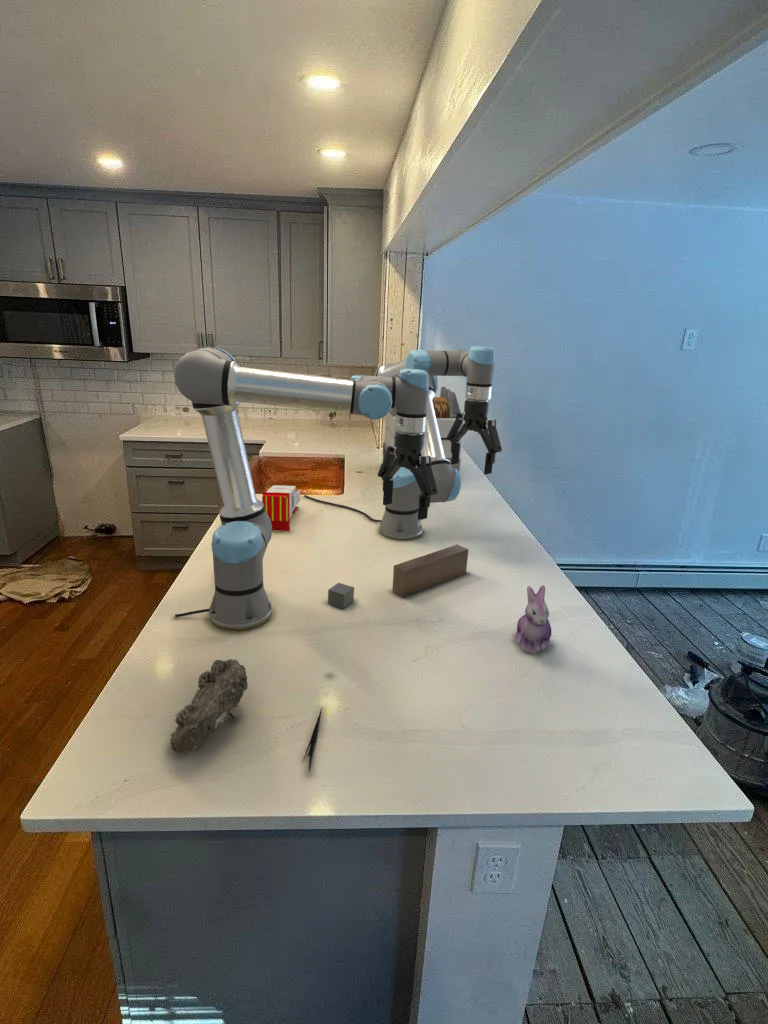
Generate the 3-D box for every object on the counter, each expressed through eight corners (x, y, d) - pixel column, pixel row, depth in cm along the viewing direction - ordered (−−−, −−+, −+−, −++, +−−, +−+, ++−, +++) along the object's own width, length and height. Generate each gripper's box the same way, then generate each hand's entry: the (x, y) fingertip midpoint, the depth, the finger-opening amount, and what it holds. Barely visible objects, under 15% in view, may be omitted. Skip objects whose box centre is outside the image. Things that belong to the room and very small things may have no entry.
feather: (331, 679, 122) (336, 673, 122) (307, 777, 96) (313, 769, 95) (324, 675, 122) (329, 669, 121) (298, 772, 95) (304, 764, 95)
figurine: (532, 659, 131) (541, 601, 125) (504, 636, 139) (511, 581, 134) (562, 649, 135) (572, 593, 130) (533, 628, 143) (541, 575, 138)
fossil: (195, 660, 117) (247, 628, 112) (227, 691, 120) (279, 661, 115) (146, 746, 98) (206, 711, 93) (185, 779, 101) (245, 748, 96)
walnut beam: (392, 591, 159) (393, 565, 156) (455, 568, 175) (457, 544, 173) (403, 597, 156) (404, 571, 153) (466, 573, 172) (468, 549, 169)
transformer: (381, 463, 289) (385, 382, 275) (444, 464, 292) (450, 384, 279) (389, 482, 257) (393, 392, 243) (459, 483, 261) (467, 394, 247)
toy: (302, 480, 222) (292, 494, 192) (302, 514, 224) (292, 532, 195) (271, 480, 221) (256, 493, 192) (271, 513, 224) (256, 531, 195)
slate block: (327, 603, 151) (328, 589, 150) (338, 595, 156) (338, 582, 154) (343, 608, 149) (343, 594, 148) (353, 600, 153) (354, 587, 152)
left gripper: (367, 424, 150) (363, 500, 157) (435, 444, 132) (427, 528, 139) (388, 422, 154) (384, 496, 162) (456, 440, 137) (448, 522, 144)
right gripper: (438, 395, 176) (433, 461, 184) (502, 407, 159) (494, 480, 166) (455, 393, 181) (449, 458, 188) (519, 405, 163) (510, 476, 171)
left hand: (404, 511), depth 151 cm, fingers open, 13 cm apart
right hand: (470, 468), depth 177 cm, fingers open, 13 cm apart
